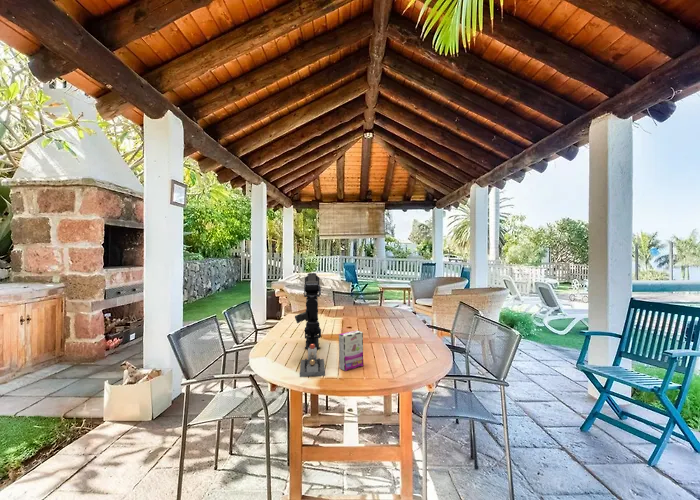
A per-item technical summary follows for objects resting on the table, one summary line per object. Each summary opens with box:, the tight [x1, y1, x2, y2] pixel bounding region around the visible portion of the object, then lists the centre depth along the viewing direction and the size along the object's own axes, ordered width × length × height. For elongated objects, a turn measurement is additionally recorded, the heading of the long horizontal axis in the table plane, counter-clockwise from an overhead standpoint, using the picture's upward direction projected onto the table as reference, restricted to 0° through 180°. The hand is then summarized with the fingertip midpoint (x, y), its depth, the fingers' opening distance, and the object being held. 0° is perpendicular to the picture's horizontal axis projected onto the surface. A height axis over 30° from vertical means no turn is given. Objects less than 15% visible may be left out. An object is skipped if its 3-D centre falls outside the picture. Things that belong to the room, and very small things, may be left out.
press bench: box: [299, 357, 326, 378], centre depth 158 cm, size 16×11×7 cm, turn 6°
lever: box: [307, 344, 318, 363], centre depth 157 cm, size 3×4×9 cm, turn 96°
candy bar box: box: [338, 330, 364, 372], centre depth 161 cm, size 11×5×16 cm, turn 126°
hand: (312, 338), depth 171 cm, fingers closed
